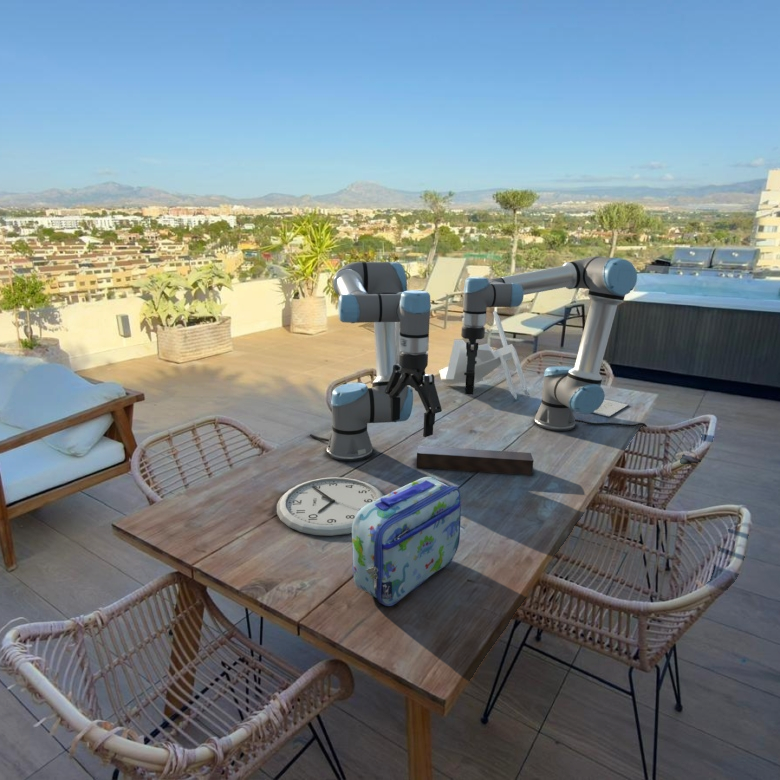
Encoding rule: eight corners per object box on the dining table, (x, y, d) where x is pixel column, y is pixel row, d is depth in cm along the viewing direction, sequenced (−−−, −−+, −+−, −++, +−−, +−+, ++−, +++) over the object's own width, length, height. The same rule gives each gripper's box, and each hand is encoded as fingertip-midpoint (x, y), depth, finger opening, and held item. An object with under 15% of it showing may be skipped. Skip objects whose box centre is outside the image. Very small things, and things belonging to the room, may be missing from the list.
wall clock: (392, 527, 129) (268, 531, 127) (391, 533, 130) (269, 537, 127) (383, 473, 158) (282, 475, 155) (383, 478, 158) (282, 480, 156)
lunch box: (381, 619, 101) (382, 525, 95) (345, 592, 109) (344, 503, 102) (464, 563, 119) (469, 480, 113) (428, 543, 126) (432, 464, 120)
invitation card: (608, 416, 214) (573, 407, 224) (608, 416, 214) (573, 408, 224) (628, 404, 229) (594, 396, 238) (628, 405, 229) (594, 397, 238)
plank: (529, 467, 168) (530, 452, 166) (532, 475, 162) (533, 460, 161) (417, 459, 172) (418, 445, 170) (416, 467, 166) (416, 453, 165)
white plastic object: (461, 429, 252) (437, 405, 227) (444, 352, 274) (420, 323, 250) (535, 404, 240) (518, 377, 215) (510, 326, 262) (492, 293, 237)
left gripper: (373, 344, 142) (372, 416, 149) (436, 364, 124) (432, 446, 131) (394, 340, 147) (392, 411, 153) (458, 359, 128) (453, 439, 135)
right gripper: (462, 319, 182) (459, 377, 189) (460, 332, 159) (456, 398, 165) (484, 319, 181) (480, 378, 188) (485, 333, 158) (480, 400, 164)
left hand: (411, 427), depth 142 cm, fingers open, 13 cm apart
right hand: (469, 388), depth 176 cm, fingers open, 13 cm apart
